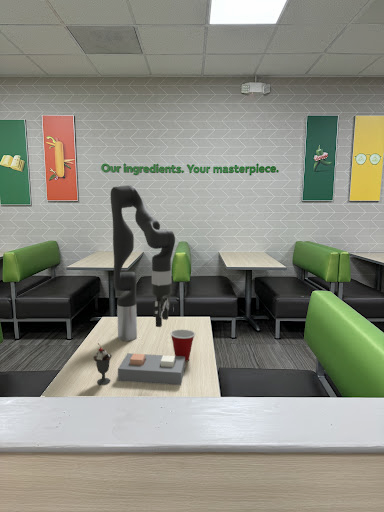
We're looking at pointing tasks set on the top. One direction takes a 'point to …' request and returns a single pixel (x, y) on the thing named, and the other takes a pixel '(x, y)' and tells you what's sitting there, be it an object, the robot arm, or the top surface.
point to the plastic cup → (182, 342)
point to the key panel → (152, 370)
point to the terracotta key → (137, 359)
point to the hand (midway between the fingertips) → (162, 322)
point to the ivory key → (168, 361)
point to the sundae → (102, 365)
